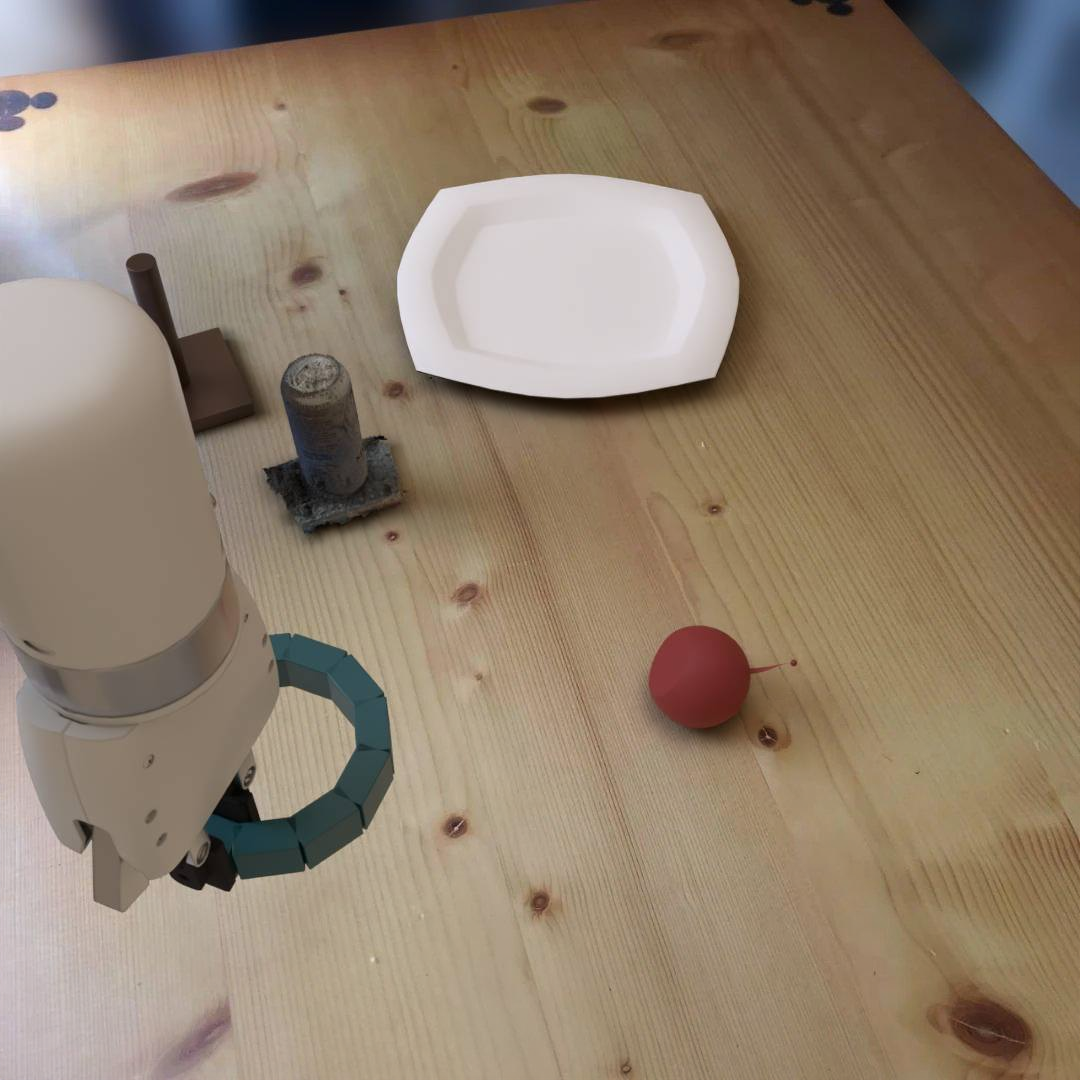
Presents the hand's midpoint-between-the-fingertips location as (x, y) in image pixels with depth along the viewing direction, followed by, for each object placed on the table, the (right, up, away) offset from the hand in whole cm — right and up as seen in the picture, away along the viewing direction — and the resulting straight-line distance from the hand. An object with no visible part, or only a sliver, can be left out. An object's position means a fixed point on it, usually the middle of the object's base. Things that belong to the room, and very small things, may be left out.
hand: (217, 850), depth 59 cm
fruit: (+25, +4, +21) cm, 33 cm away
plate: (+17, +33, +45) cm, 59 cm away
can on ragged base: (+1, +18, +32) cm, 37 cm away
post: (-12, +25, +38) cm, 47 cm away
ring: (+2, +3, +3) cm, 5 cm away
